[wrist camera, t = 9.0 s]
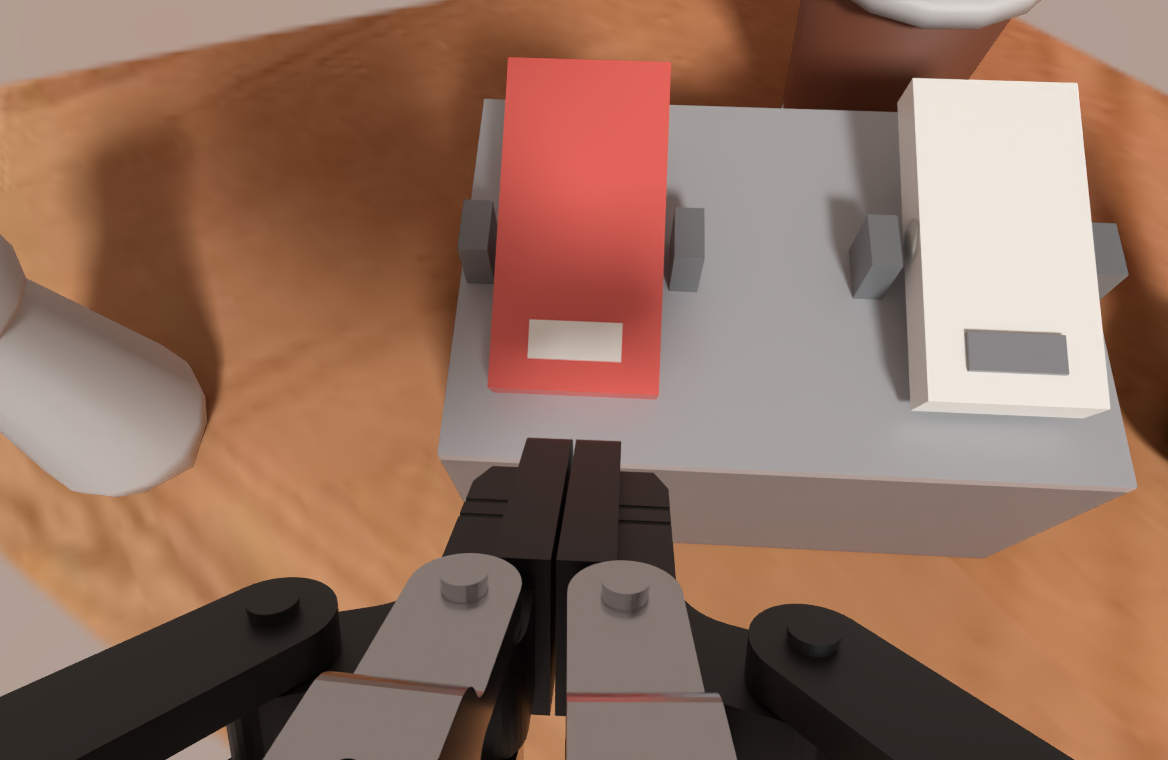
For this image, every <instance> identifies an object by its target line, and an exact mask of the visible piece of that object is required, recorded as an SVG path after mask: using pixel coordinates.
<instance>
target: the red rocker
mask: <svg viewBox="0 0 1168 760" xmlns="http://www.w3.org/2000/svg"><path fill="white" fill-rule="evenodd" d="M670 81H671V62H648V61H615V60H583V59H551V58H518V57H508V67H507V83H506V99H505V115H504V131H503V147H502V163H501V179H500V195H499V211H498V227H497V243H496V259H495V275H494V291H493V307H492V323H491V339H490V355H489V371H488V387H487V388H489V389H490V390H491V391H492V392H496V393H519V394H541V395H563V396H585V397H608V398H630V399H652V400H656V399H657V398H658V396H659V378H660V351H661V324H662V297H663V270H664V243H665V216H666V189H667V162H668V135H669V108H670Z"/></svg>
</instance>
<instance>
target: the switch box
mask: <svg viewBox="0 0 1168 760" xmlns="http://www.w3.org/2000/svg"><path fill="white" fill-rule="evenodd" d="M504 115H505V99H484V105H483V112H482V120H481V128H480V135H479V143H478V150H477V158H476V166H475V173H474V181H473V188H472V196H471V200H467V199H464V203H463V210H462V218H461V225H460V232H459V240H458V247H457V250H458V253H459V257H460V260H461V264H462V272H461V280H460V287H459V295H458V302H457V310H456V318H455V325H454V333H453V340H452V348H451V356H450V363H449V371H448V378H447V386H446V394H445V401H444V409H443V416H442V424H441V432H440V439H439V447H438V454H437V455H438V457H439V458H440V460H441V462H442V464H443V466H444V467H445V469H446V471H447V473H448V474H449V476H450V478H451V480H452V481H453V483H454V485H455V487H456V489H457V490H458V492H459V494H460V496H461V497H462V499H463V501H464V502H466V497H467V495H468V492H469V490H470V487H471V485H472V482H473V480H475V479H476V478H477V477H479V476H480V475H481V474H483V473H484V472H485V471H486V470H488V469H489V468H490V467H492V466H505V467H518V466H519V462H520V459H521V456H522V452H523V449H524V446H525V442H526V439H527V438H552V439H573V455H574V449H575V443H576V439H580V440H605V441H621V464H620V471H626V472H650V473H654V474H655V475H656V476H657V477H658V478H659V479H660V480H661V481H662V482H663V483H664V485H665V486H666V487H667V488H668V490H669V502H670V514H671V526H672V539H673V543H691V544H711V545H731V546H750V547H770V548H790V549H810V550H829V551H849V552H869V553H889V554H908V555H928V556H948V557H968V558H986V557H988V556H990V555H993V554H995V553H997V552H999V551H1001V550H1003V549H1006V548H1008V547H1010V546H1012V545H1014V544H1017V543H1019V542H1021V541H1023V540H1025V539H1027V538H1030V537H1032V536H1034V535H1036V534H1038V533H1041V532H1043V531H1045V530H1047V529H1049V528H1052V527H1054V526H1056V525H1058V524H1060V523H1062V522H1065V521H1067V520H1069V519H1071V518H1073V517H1076V516H1078V515H1080V514H1082V513H1084V512H1087V511H1089V510H1091V509H1093V508H1095V507H1097V506H1100V505H1102V504H1104V503H1106V502H1108V501H1111V500H1113V499H1115V498H1117V497H1119V496H1122V495H1124V494H1126V493H1128V492H1130V491H1132V490H1135V489H1137V488H1138V487H1137V482H1136V478H1135V473H1134V469H1133V465H1132V460H1131V456H1130V451H1129V447H1128V442H1127V438H1126V433H1125V429H1124V424H1123V420H1122V415H1121V411H1120V406H1119V402H1118V397H1117V393H1116V388H1115V384H1114V379H1113V375H1112V370H1111V366H1110V361H1109V357H1108V352H1107V348H1106V343H1105V339H1104V334H1103V340H1104V350H1105V359H1106V369H1107V379H1108V389H1109V399H1110V410H1107V411H1104V412H1101V413H1098V414H1095V415H1092V416H1089V417H1086V418H1060V417H1038V416H1016V415H993V414H971V413H949V412H926V411H911V408H910V384H909V361H908V338H907V315H906V292H905V269H904V245H903V222H902V199H901V176H900V153H899V130H898V112H874V111H844V110H813V109H782V108H752V107H721V106H690V105H670V108H669V135H668V162H667V189H666V216H665V243H664V270H663V297H662V324H661V351H660V378H659V396H658V398H657V399H656V400H652V399H630V398H608V397H585V396H563V395H541V394H519V393H496V392H492V391H491V390H490V389H489V388H487V387H488V371H489V355H490V339H491V323H492V307H493V291H494V275H495V259H496V243H497V227H498V211H499V195H500V179H501V163H502V147H503V131H504ZM1092 231H1093V241H1094V251H1095V261H1096V271H1097V280H1098V290H1099V300H1101V299H1102V298H1103V297H1104V296H1105V295H1106V294H1107V293H1109V292H1110V291H1111V290H1112V289H1113V288H1114V287H1116V286H1117V285H1118V284H1119V283H1120V282H1121V281H1122V280H1124V279H1125V278H1126V277H1127V276H1128V275H1129V274H1128V270H1127V266H1126V261H1125V257H1124V253H1123V249H1122V245H1121V241H1120V237H1119V233H1118V229H1117V225H1116V223H1092Z"/></svg>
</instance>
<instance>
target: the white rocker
mask: <svg viewBox="0 0 1168 760" xmlns="http://www.w3.org/2000/svg"><path fill="white" fill-rule="evenodd" d="M897 106H898V130H899V153H900V176H901V199H902V222H903V245H904V269H905V292H906V315H907V338H908V361H909V384H910V408H911V411H926V412H949V413H971V414H993V415H1016V416H1038V417H1060V418H1086V417H1089V416H1092V415H1095V414H1098V413H1101V412H1104V411H1107V410H1110V399H1109V389H1108V379H1107V369H1106V359H1105V350H1104V340H1103V330H1102V320H1101V310H1100V300H1099V290H1098V280H1097V271H1096V261H1095V251H1094V241H1093V231H1092V221H1091V211H1090V201H1089V192H1088V182H1087V172H1086V162H1085V152H1084V142H1083V132H1082V122H1081V113H1080V103H1079V93H1078V83H1057V82H1025V81H993V80H961V79H929V78H912V80H911V82H910V83H909V85H908V87H907V88H906V90H905V91H904V93H903V95H902V96H901V98H900V99H899V101H898V103H897Z"/></svg>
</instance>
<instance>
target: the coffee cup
mask: <svg viewBox="0 0 1168 760" xmlns="http://www.w3.org/2000/svg"><path fill="white" fill-rule="evenodd" d="M1039 1H1041V0H801V4H800V10H799V15H798V21H797V26H796V32H795V38H794V43H793V49H792V54H791V60H790V66H789V71H788V77H787V82H786V88H785V94H784V99H783V104H782V107H781V108H782V109H813V110H844V111H874V112H898V106H897V103H898V101H899V99H900V98H901V96H902V95H903V93H904V91H905V90H906V88H907V87H908V85H909V83H910V82H911V80H912V78H929V79H961V80H968V79H969V78H970V76H971V75H972V73H973V72H974V70H975V69H976V68H977V66H978V65H979V63H980V62H981V60H982V59H983V58H984V56H985V55H986V53H987V52H988V51H989V49H990V48H991V46H992V45H993V43H994V42H995V41H996V39H997V38H998V36H999V35H1000V33H1001V32H1002V31H1003V29H1004V28H1005V26H1006V25H1007V23H1008V22H1009V21H1010V19H1011V18H1013V17H1017V16H1020V15H1023V14H1025V13H1027V12H1028V11H1029V10H1030V9H1032V8H1033V7H1034V6H1035V5H1036V4H1037V3H1038V2H1039Z"/></svg>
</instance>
